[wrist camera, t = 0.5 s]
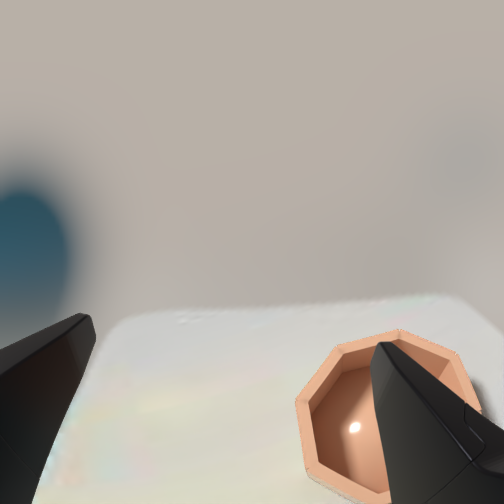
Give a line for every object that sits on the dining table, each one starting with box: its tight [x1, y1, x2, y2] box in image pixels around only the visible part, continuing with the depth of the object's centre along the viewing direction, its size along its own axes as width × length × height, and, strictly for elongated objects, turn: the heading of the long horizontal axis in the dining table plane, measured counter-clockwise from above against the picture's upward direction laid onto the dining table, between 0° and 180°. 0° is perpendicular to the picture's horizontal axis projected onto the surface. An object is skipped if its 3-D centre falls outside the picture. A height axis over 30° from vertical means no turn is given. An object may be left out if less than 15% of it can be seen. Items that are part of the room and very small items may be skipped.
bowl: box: [295, 329, 482, 504], centre depth 17 cm, size 12×12×4 cm
